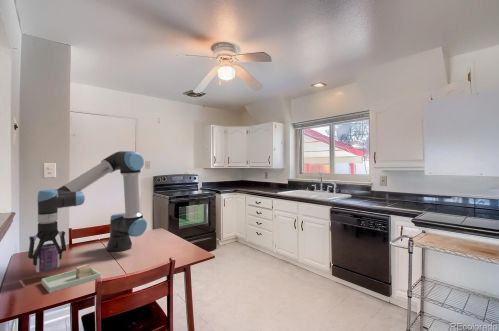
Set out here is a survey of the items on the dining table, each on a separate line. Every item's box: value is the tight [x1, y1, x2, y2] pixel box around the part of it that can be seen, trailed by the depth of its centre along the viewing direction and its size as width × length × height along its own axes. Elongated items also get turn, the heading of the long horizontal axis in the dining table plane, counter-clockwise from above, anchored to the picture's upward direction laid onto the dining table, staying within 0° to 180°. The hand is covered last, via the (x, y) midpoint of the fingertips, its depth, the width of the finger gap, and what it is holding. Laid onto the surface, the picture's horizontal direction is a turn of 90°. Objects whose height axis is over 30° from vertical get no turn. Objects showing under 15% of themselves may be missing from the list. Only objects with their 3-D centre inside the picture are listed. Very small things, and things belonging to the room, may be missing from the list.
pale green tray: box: [41, 267, 101, 294], centre depth 121 cm, size 13×20×3 cm, turn 141°
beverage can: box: [38, 243, 58, 273], centre depth 124 cm, size 7×7×12 cm
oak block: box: [75, 263, 93, 279], centre depth 125 cm, size 5×5×5 cm
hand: (47, 268), depth 124 cm, fingers closed on beverage can, 7 cm apart
